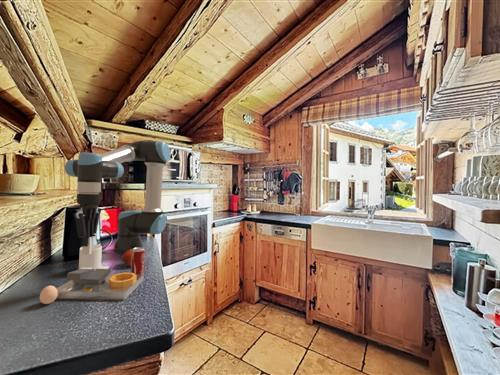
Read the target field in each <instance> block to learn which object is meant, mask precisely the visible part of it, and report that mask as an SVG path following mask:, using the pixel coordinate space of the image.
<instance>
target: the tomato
mask: <svg viewBox="0 0 500 375" xmlns="http://www.w3.org/2000/svg"><path fill="white" fill-rule="evenodd" d="M133 249H134V248H133ZM133 249H129V250H127V251H126V252H125V253H123V255H122V261H123V263H124V264H125V265H126V266H128V267H131V260H132V251H133Z"/></svg>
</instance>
